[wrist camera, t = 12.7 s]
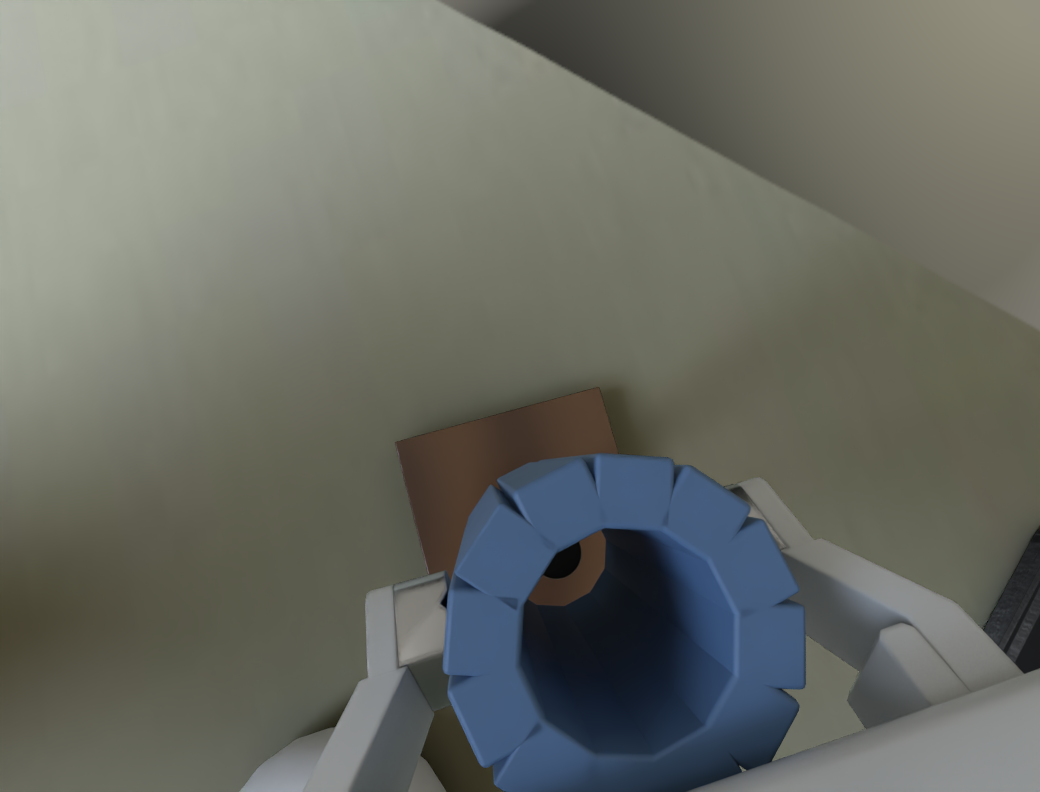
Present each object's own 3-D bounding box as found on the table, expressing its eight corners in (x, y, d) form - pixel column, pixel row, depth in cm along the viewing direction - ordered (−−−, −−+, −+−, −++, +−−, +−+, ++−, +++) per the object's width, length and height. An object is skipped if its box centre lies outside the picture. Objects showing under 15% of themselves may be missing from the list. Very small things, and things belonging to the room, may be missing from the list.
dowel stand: (451, 648, 27) (422, 803, 14) (399, 443, 28) (330, 424, 16) (651, 587, 28) (784, 683, 15) (593, 390, 29) (674, 332, 16)
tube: (427, 578, 15) (368, 702, 7) (527, 426, 16) (575, 386, 8) (579, 680, 15) (690, 920, 7) (673, 524, 16) (870, 582, 8)
